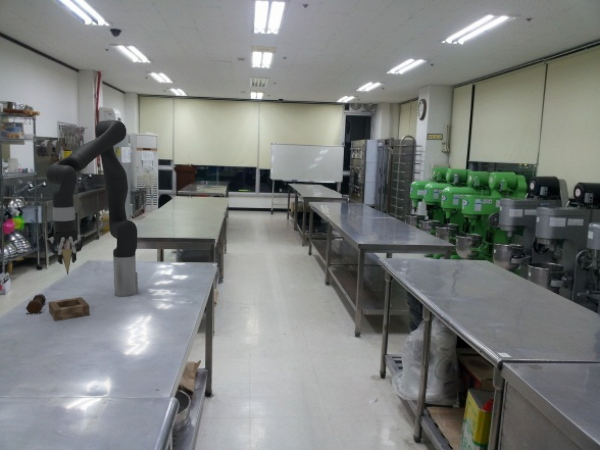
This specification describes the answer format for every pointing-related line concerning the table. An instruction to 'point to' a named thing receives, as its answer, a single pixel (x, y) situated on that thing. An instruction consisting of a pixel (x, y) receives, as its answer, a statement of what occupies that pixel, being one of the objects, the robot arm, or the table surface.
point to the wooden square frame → (68, 308)
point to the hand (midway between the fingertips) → (67, 262)
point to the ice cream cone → (67, 253)
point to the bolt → (36, 304)
